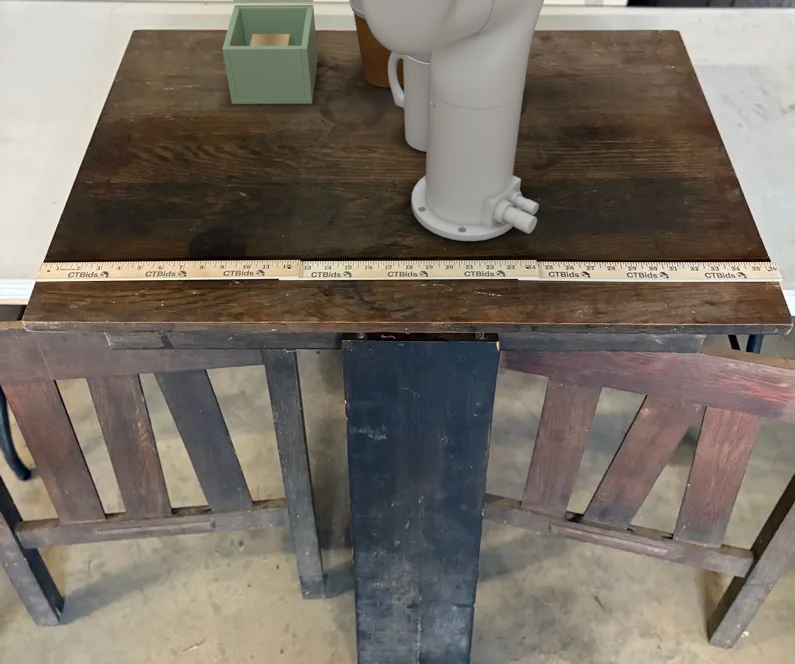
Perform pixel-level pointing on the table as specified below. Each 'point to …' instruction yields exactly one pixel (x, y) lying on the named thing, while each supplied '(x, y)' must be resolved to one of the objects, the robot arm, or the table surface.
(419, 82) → the mug
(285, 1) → the lid
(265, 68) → the chest
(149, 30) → the table surface
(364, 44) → the disposable coffee cup
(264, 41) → the block
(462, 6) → the robot arm
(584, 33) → the table surface
